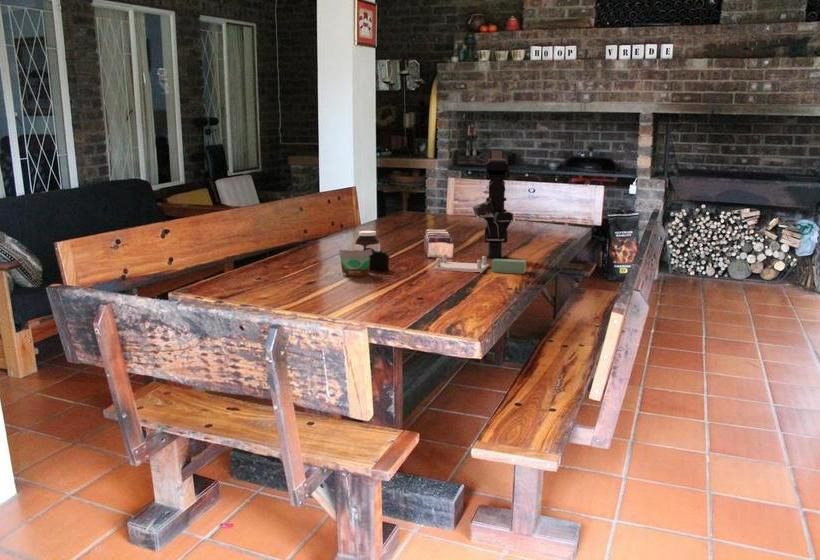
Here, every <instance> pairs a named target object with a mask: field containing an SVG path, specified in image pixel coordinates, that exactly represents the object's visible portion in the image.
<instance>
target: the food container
mask: <svg viewBox="0 0 820 560" xmlns="http://www.w3.org/2000/svg"><path fill="white" fill-rule="evenodd" d="M337 255H338V256H339V257H340V264H341V265H340V266H341V273H342V276H343V277H347V278H352V279H354V278H355V279H358V278H366V277H368V276H369V274H370V271H369V267H370V255H372V250H371V248H370V249H369V250H362V251H361V250H352V251H350V250H344V249H339V250H338V253H337Z"/></svg>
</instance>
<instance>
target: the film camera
mask: <svg viewBox="0 0 820 560" xmlns="http://www.w3.org/2000/svg"><path fill="white" fill-rule="evenodd" d="M369 249H370V248H364V249H363V250H369ZM371 250H372V255H370V267H369V272H370V271H371V272H388V271H390V269H389V267H390V266H389V261H390V258H391V257H390V256H389V255H388V254H387V253H386V252H385V251H382V250H380V252H379V251H375V250H373V249H372V248H371Z"/></svg>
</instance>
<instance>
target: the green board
mask: <svg viewBox="0 0 820 560" xmlns="http://www.w3.org/2000/svg"><path fill="white" fill-rule="evenodd" d="M500 272H501V274H502V273H503V274H519V275H520V274H522V275H523V274H525V273H526V272H527V259H512V258H511V259H509V258H507V259H506V258H492V260H491V273H500Z"/></svg>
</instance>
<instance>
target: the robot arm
mask: <svg viewBox="0 0 820 560" xmlns="http://www.w3.org/2000/svg"><path fill="white" fill-rule="evenodd" d="M485 170H486V171H485V172H486V173H485V175H486V177H485V178H486V179H485V180H489V182H488V197H486V199H485V201H483V202H481V203H478V204H477V205H475V206H472V209H473V212H474V215H475V216H477V217H481V218H482V219H483V220H484V221H485V222H486V227H484V243H487V255H486V259H503V258H504V257H505V254H503V243H505V244H506V243H508V236H509V235H508V230H507V229H508V228H509V226H510V224H511V223H512V222H513V221H514V214H512V212H510V211H507V209H505V202H506V201H507V197H505V195H506V194H505V192H506V181H504V180H509V179H508V178H510V166H509V163H508V155H507V154H506V153H505V152H504V149H502V148H492V149H490V152H488V154H487V155H486V156H485Z"/></svg>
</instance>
